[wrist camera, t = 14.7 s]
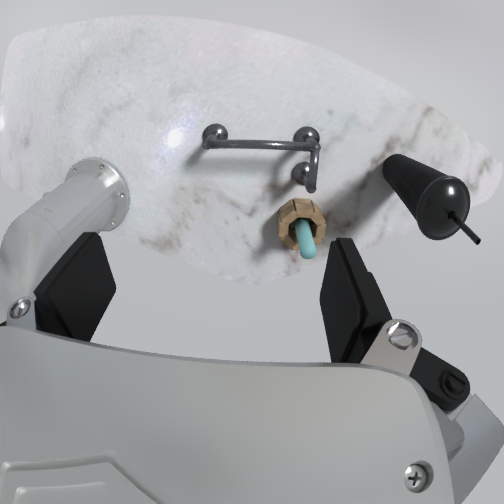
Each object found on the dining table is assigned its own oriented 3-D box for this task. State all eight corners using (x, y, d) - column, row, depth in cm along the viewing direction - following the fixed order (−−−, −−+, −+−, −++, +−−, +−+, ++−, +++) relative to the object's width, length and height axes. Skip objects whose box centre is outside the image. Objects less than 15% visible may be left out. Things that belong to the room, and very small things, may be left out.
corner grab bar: (205, 181, 38) (196, 199, 33) (203, 124, 33) (192, 131, 28) (314, 184, 38) (323, 203, 32) (319, 127, 33) (331, 136, 28)
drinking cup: (394, 202, 39) (462, 287, 22) (364, 170, 36) (435, 246, 19) (426, 169, 35) (510, 237, 18) (398, 134, 33) (491, 186, 16)
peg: (288, 227, 42) (294, 262, 34) (290, 207, 40) (296, 240, 32) (309, 228, 42) (319, 263, 34) (311, 208, 40) (323, 241, 32)
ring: (279, 197, 39) (280, 208, 36) (323, 200, 39) (328, 210, 36) (276, 236, 43) (277, 249, 40) (317, 238, 43) (321, 250, 40)
